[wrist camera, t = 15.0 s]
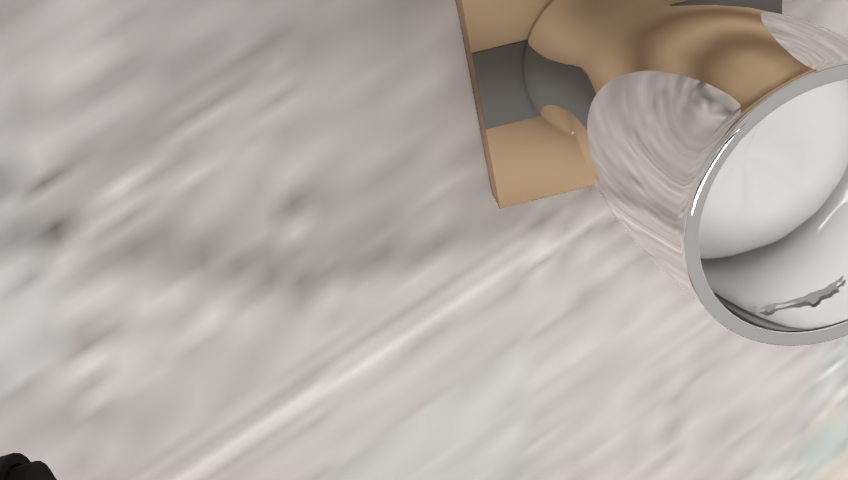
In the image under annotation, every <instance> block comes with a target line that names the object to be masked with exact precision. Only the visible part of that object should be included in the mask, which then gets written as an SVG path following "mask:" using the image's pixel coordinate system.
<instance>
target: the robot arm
mask: <svg viewBox="0 0 848 480" xmlns="http://www.w3.org/2000/svg"><path fill="white" fill-rule="evenodd" d="M0 480H56V478H55V477H54V475H53V473H52V472H51V470H50V469H49V468H48V466H47V465H46V464H45V463H43V462H42V461H34V462H30V460H29V459H28V458H27V457H25V456H24V455H22V454H21V453H12V454H8V455H5V456H1V457H0Z"/></svg>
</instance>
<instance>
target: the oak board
mask: <svg viewBox="0 0 848 480" xmlns="http://www.w3.org/2000/svg"><path fill="white" fill-rule="evenodd" d="M552 1H553V0H456V3H457V8H458V13H459V19H460V24H461V29H462V35H463V40H464V45H465V51H466V56H467V61H468V67H469V72H470V77H471V83H472V88H473V93H474V99H475V104H476V109H477V114H478V120H479V125H480V130H481V136H482V141H483V146H484V152H485V157H486V162H487V168H488V173H489V178H490V184H491V189H492V194H493V197H494V198H495V200H496V202H497V204H498V206H499V207H500V209H501V208H505V207H509V206H513V205H517V204H521V203H525V202H529V201H533V200H537V199H541V198H545V197H549V196H553V195H557V194H561V193H565V192H569V191H573V190H577V189H581V188H585V187H589V186H593V185H596V184H595V182H594V180H593V178H592V176H591V174H590V171H589V169H588V166H587V163H586V161H585V158H584V156H583V153H582V151H581V148H580V145H579V143H578V140H577V137H574V136H571V135H569V134H566V133H564V132H562V131H560V130H558V129H557V128H555V127H554V126H552V125H551V124H550V123H548V122H547V121H546V120H545V119H544V118H543V117H542V116H541V115H540V114H539V112H538V111H537V110H536V108H535V107H534V105H533V103H532V101H531V99H530V97H529V95H528V92H527V89H526V85H525V79H524V68H523V67H524V54H525V48H526V44H527V41H528V38H529V35H530V33H531V31H532V28H533V26H534V24H535V23H536V21H537V19H538V18H539V16H540V15H541V14H542V12H543V11H544V10H545V8H546V7H547V6H548V5H549V4H550V3H551V2H552ZM665 1H666V2H667V3H668V4H669V5H670V6H687V5H725V6H737V7H749V8H757V9H763V10H767V11H771V12H775V13H779V14H782V0H665Z"/></svg>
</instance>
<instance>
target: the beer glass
mask: <svg viewBox="0 0 848 480" xmlns="http://www.w3.org/2000/svg"><path fill="white" fill-rule="evenodd" d="M523 68H524V79H525V85H526V89H527V92H528V95H529V97H530V99H531V101H532V103H533V105H534V107H535V108H536V110H537V111H538V112H539V114H540V115H541V116H542V117H543V118H544V119H545V120H546V121H547V122H548V123H550V124H551V125H552V126H554V127H555V128H557V129H558V130H560V131H562V132H564V133H566V134H569V135H571V136H574V137H577V140H578V143H579V145H580V148H581V151H582V153H583V156H584V158H585V161H586V163H587V166H588V169H589V171H590V174H591V176H592V178H593V180H594V182H595V184H596V186H597V188H598V190H599V191H600V193H601V195H602V197H603V199H604V201H605V203H606V205H607V206H608V208H609V210H610V211H611V212H612V214H613V215H614V216H615V218H616V219H617V220H618V222H619V223H620V224H621V226H622V227H623V228H624V229H625V231H626V232H627V233H628V235H629V236H630V237H631V238H632V239H633V241H634V242H635V243H636V244H637V245H638V246H639V247H640V248H641V249H642V250H643V251H644V252H645V253H646V254H647V255H648V256H649V257H650V258H651V260H652V261H653V262H654V263H655V264H656V265H657V266H659V267H660V268H661V269H662V270H663V271H664V272H665V273H666V274H667V275H669V276H670V277H671V278H672V279H673V280H674V281H675V282H676V283H677V284H678V285H680V286H681V287H682V288H683V289H684V290H685V291H687V292H688V293H689V294H690V295H691V296H693V297H694V298H695V299H696V300H697V301H698V302H700V303H701V304H702V305H703V307H704V308H705V309H706V310H707V311H708V313H709V314H710V315H711V316H712V317H713V318H714V319H716V320H717V321H718V322H719V323H720V324H722V325H723V326H724V327H726V328H727V329H729V330H731V331H733V332H734V333H736V334H738V335H740V336H743V337H745V338H748V339H751V340H754V341H757V342H761V343H766V344H772V345H783V346H797V345H809V344H816V343H821V342H826V341H830V340H834V339H837V338H840V337H843V336H846V335H848V38H847V37H845V36H843V35H841V34H838V33H836V32H833V31H831V30H828V29H826V28H823V27H820V26H818V25H815V24H812V23H810V22H807V21H804V20H801V19H798V18H794V17H790V16H787V15H783V14H779V13H775V12H771V11H767V10H763V9H757V8H749V7H737V6H725V5H687V6H670V5H669V4H668V3H667V2H666V1H665V0H553V1H552V2H551V3H550V4H549V5H548V6H547V7H546V8H545V10H544V11H543V12H542V14H541V15H540V16H539V18H538V19H537V21H536V23H535V24H534V26H533V28H532V31H531V33H530V35H529V38H528V41H527V44H526V48H525V54H524V67H523Z"/></svg>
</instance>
